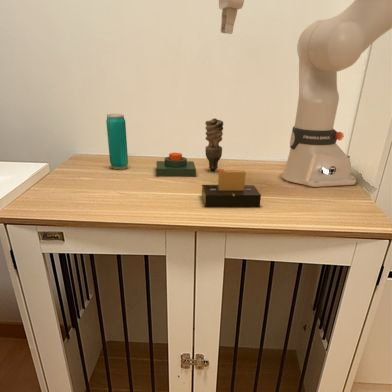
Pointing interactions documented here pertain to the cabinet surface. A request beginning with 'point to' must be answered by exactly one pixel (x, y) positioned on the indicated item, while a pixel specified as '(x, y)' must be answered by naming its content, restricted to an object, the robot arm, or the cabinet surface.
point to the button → (175, 156)
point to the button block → (176, 167)
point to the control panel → (230, 197)
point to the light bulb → (214, 142)
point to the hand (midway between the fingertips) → (226, 33)
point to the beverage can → (117, 141)
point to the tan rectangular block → (231, 180)
